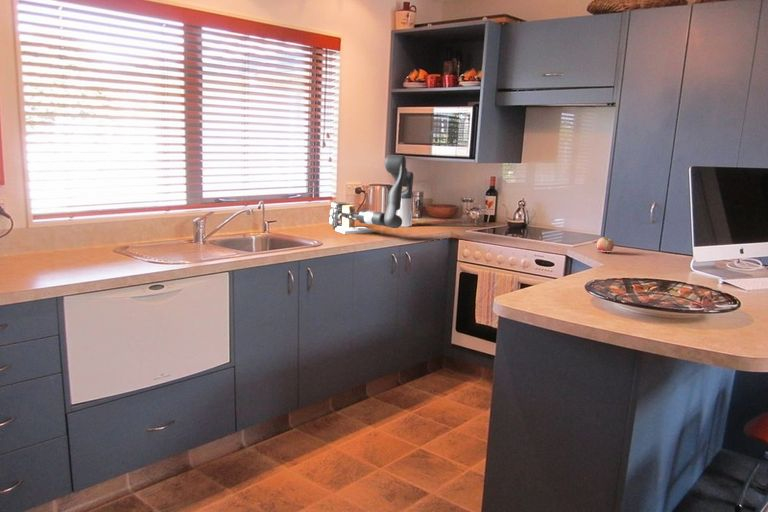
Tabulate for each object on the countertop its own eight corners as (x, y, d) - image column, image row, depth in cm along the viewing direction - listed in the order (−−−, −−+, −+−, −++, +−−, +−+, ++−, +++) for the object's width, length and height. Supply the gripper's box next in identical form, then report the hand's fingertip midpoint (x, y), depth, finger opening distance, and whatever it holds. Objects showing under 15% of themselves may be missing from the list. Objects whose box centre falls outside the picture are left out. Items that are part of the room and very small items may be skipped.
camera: (327, 227, 358) (327, 201, 355) (344, 226, 362) (344, 201, 360) (333, 230, 349) (334, 203, 346) (350, 229, 353) (351, 203, 350)
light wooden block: (347, 226, 347) (348, 204, 345) (354, 227, 344) (355, 205, 342) (341, 226, 343) (342, 205, 341) (348, 227, 341) (349, 206, 338)
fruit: (606, 254, 309) (608, 239, 308) (592, 252, 316) (594, 236, 314) (615, 253, 314) (617, 238, 313) (602, 250, 320) (603, 235, 319)
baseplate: (363, 229, 356) (363, 225, 355) (373, 232, 346) (373, 228, 345) (335, 230, 347) (335, 226, 347) (344, 233, 337) (344, 229, 336)
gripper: (376, 209, 339) (353, 206, 349) (360, 211, 328) (336, 208, 338) (376, 222, 341) (352, 219, 351) (360, 225, 329) (336, 221, 339)
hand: (344, 213), depth 344 cm, fingers closed on light wooden block, 5 cm apart
